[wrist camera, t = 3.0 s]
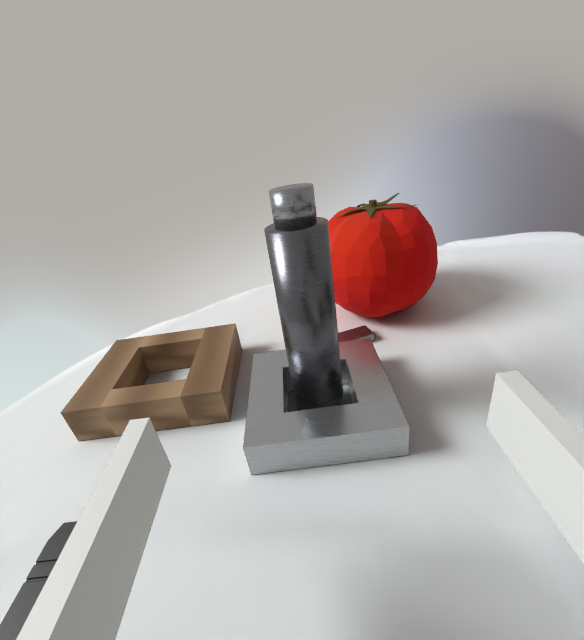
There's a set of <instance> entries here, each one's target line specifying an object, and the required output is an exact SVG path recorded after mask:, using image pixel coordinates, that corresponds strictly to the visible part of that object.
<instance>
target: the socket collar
mask: <svg viewBox="0 0 584 640" xmlns="http://www.w3.org/2000/svg"><path fill="white" fill-rule="evenodd" d="M339 352H340V363H341V374H342V384H348V387H349V391H350V394H351V398H352V401H353V404H346V405H339V406H331V407H323V408H316V409H308V410H301V411H293V412H288V398H287V392H289V391H293V386H292V381H291V375H290V370H289V364H288V359H287V353H286V349H285V350H278V351H271V352H263V353H256V354H253V362H252V371H251V381H250V390H249V399H248V408H247V417H246V426H245V435H244V444H243V449H244V452H245V456H246V459H247V462H248V466H249V469H250V472H251V475H255V474H263V473H271V472H279V471H286V470H294V469H302V468H310V467H318V466H326V465H334V464H342V463H350V462H358V461H366V460H374V459H382V458H390V457H398V456H406V455H409V428H410V426H409V424H408V422H407V420H406V417H405V415H404V413H403V411H402V408H401V406H400V404H399V402H398V400H397V397H396V395H395V393H394V391H393V388H392V386H391V384H390V382H389V379H388V377H387V375H386V373H385V370H384V368H383V366H382V364H381V362H380V359H379V357H378V355H377V353H376V350H375V348H374V346H373V344H372V341H371V339H370V338H364V339H357V340H350V341H343V342H339Z"/></svg>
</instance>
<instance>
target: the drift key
mask: <svg viewBox="0 0 584 640" xmlns="http://www.w3.org/2000/svg"><path fill="white" fill-rule="evenodd" d="M364 338H370V339H371V341H374V333H373V332H372V331H371V330H370V329H369V328H367V327H366V326H361V327H358V328H354V329H351V330H347V331H344V332H340V333H338V340H339V342H343V341H350V340H357V339H364Z"/></svg>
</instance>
